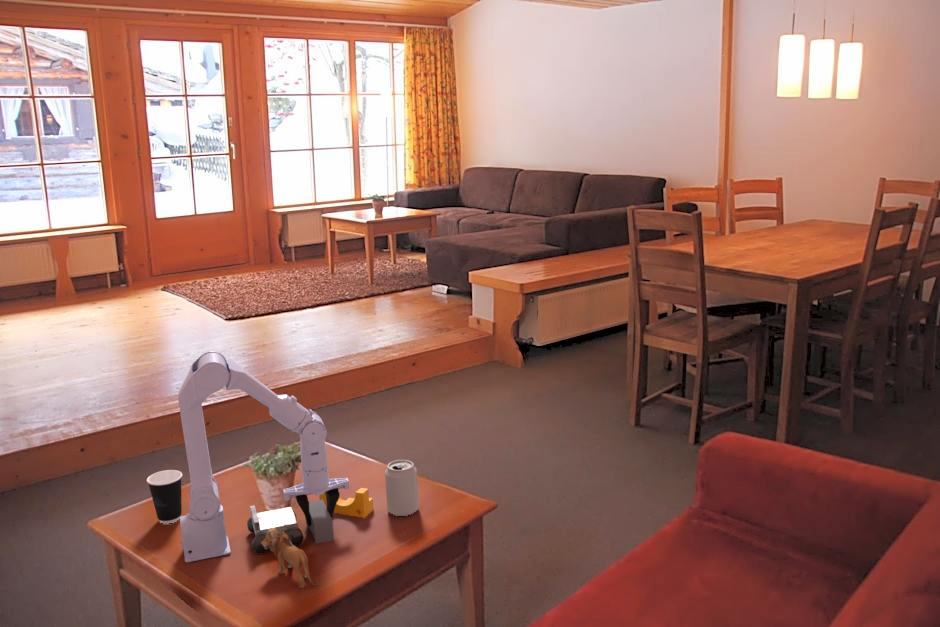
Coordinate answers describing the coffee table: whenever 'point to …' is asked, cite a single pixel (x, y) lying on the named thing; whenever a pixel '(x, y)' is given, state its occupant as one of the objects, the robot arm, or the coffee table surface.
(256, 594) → the coffee table surface
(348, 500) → the pipe clamp
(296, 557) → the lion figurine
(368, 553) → the coffee table surface
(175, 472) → the dixie cup
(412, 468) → the can
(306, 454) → the robot arm
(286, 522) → the trolley
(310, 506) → the block
